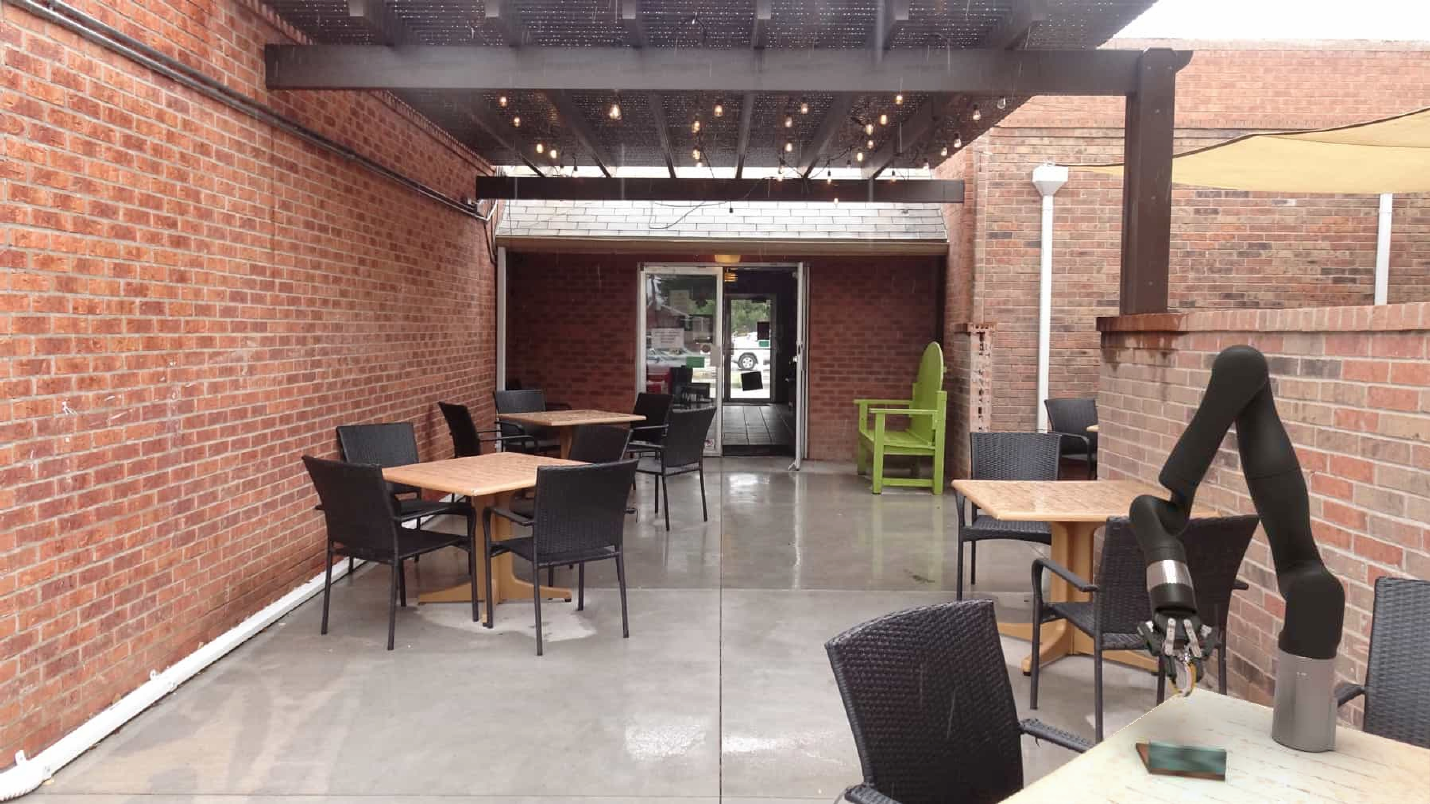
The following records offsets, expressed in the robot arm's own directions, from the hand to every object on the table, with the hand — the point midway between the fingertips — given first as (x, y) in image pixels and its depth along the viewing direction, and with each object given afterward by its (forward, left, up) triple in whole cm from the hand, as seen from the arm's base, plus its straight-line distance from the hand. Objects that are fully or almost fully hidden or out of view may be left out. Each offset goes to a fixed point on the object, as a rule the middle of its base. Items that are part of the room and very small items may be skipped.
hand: (1185, 679), depth 165 cm
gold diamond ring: (0, -3, -4) cm, 5 cm away
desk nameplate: (0, -1, -16) cm, 16 cm away
